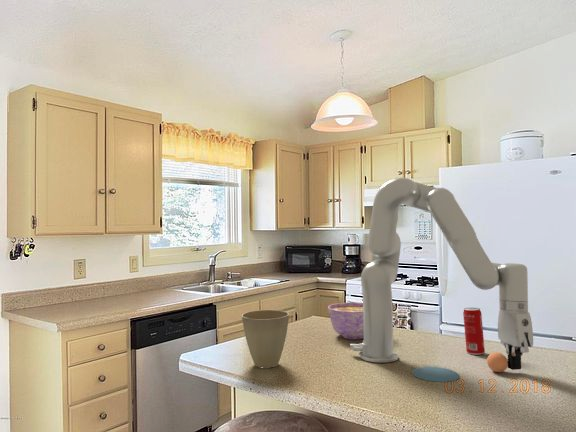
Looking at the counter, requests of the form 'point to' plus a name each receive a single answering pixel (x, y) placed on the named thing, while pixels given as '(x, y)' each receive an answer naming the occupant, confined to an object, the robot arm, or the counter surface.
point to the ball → (497, 362)
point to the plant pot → (265, 335)
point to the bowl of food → (347, 319)
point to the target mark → (435, 374)
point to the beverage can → (473, 331)
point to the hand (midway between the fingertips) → (514, 368)
